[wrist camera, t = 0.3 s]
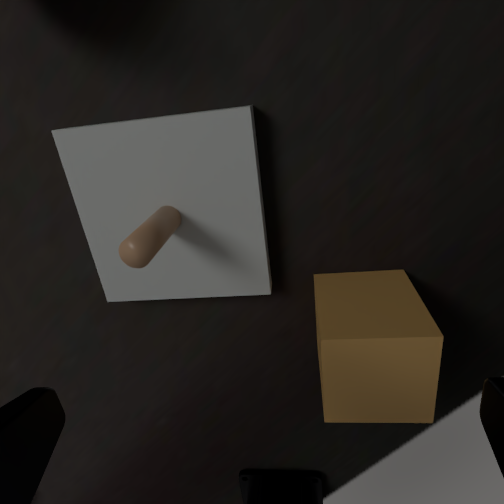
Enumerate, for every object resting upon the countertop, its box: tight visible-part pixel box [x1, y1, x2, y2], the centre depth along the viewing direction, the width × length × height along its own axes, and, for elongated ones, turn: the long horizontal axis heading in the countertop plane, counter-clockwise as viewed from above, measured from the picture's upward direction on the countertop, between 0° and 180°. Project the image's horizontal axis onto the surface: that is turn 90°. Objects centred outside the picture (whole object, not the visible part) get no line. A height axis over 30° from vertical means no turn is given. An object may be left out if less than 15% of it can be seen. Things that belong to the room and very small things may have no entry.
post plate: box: [52, 105, 272, 302], centre depth 18 cm, size 10×10×6 cm
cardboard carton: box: [314, 270, 444, 423], centre depth 19 cm, size 5×5×6 cm
